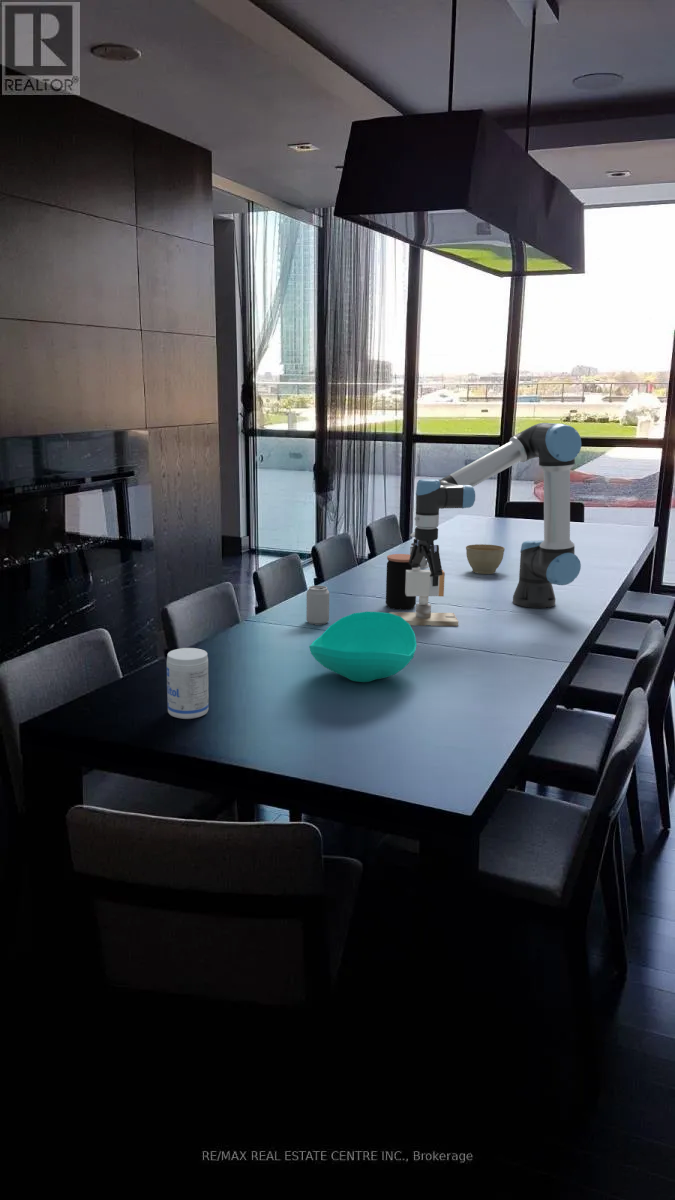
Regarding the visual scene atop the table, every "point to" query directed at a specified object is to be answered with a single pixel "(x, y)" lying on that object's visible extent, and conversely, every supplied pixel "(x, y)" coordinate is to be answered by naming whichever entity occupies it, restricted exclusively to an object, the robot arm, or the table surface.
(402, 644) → the table top decor
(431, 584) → the robot arm
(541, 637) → the table surface
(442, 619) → the lock board
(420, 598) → the orange-capped white bar
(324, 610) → the can
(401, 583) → the coffee jar
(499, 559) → the planter bowl
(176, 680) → the supplement tub
